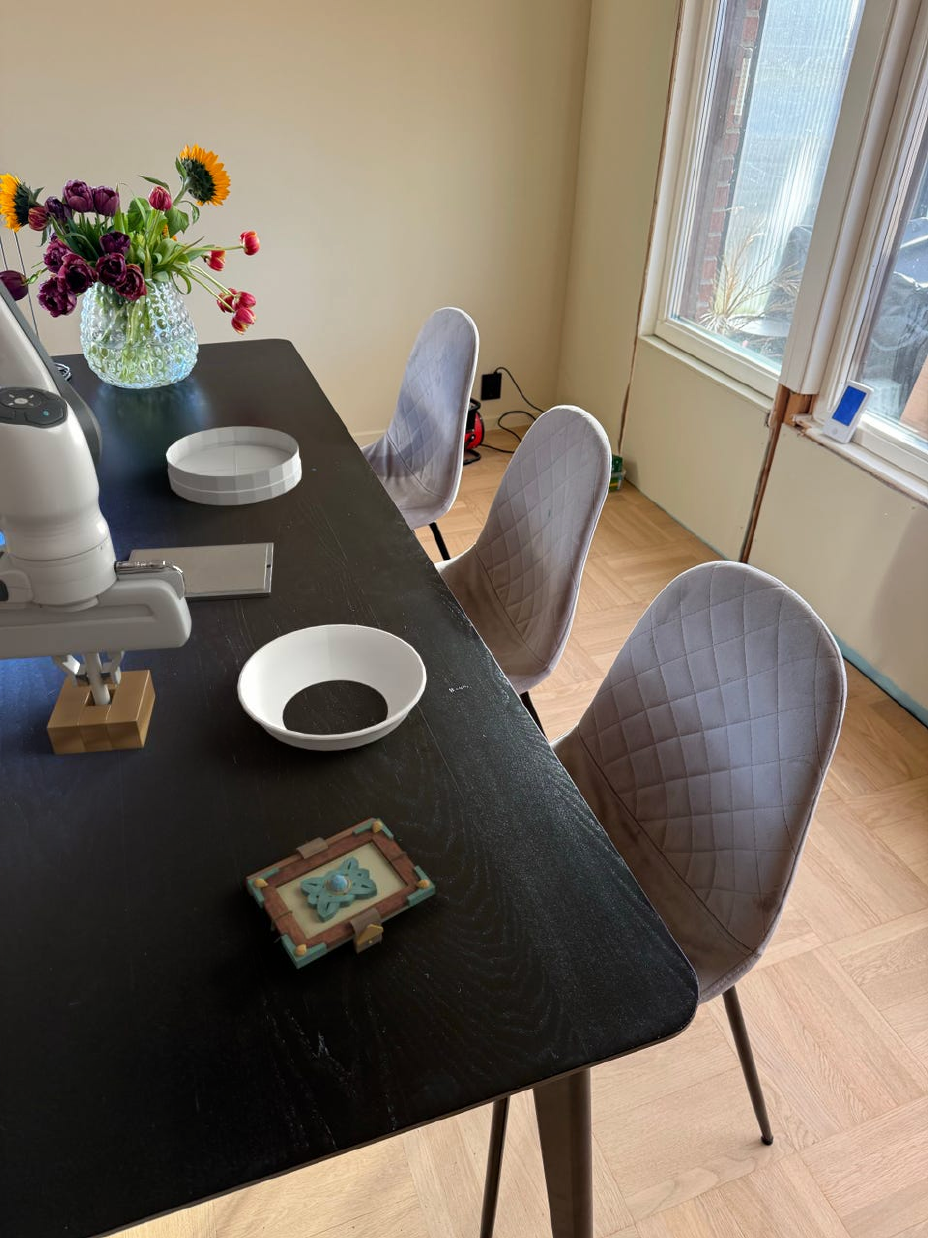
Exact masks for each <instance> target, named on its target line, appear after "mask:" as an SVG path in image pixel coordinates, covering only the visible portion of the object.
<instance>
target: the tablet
mask: <svg viewBox="0 0 928 1238" xmlns="http://www.w3.org/2000/svg"><path fill="white" fill-rule="evenodd" d="M274 548H275V547H274V542H259V543H242V544H224V545H223V544H222V545H220V544H219V545H204V546H203V545H202V546H185V547H182V546H181V547H164V548H163V547H162V548H143V549H132V550H131V552H130V555H129V558H128V561H142V562H143V561H145V562H146V561H150V560H165V562H166V563H169V564H172V565H174V566H176V567H178V568H179V569H180V570H181V571H182V573H183V575H184V580H185V585H186V592H185V595H184V597H185V600H186V603H189V602H190V603H191V602H206V601H222V600H223V601H224V600H236V599H237V600H240V599H256V598H257V599H258V598H259V599H260V598H271V594H272V580H273V566H274V565H273V563H274ZM166 569H167V567H166Z"/></svg>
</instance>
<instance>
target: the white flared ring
mask: <svg viewBox="0 0 928 1238" xmlns="http://www.w3.org/2000/svg"><path fill="white" fill-rule="evenodd" d="M329 681H351V682H357V683H361V684H363V685H367V686H369V687H370V688H372V689H374V690H376V691H377V692H378V693H379V694H380V695H381V696H382V697H383V699H384V700H385V702H386V705H387V715H386V719H385V720H383V721H382V722H380V723H378V724H375V725H373V726H370V727H367V728H363V729H361V730H356V731H351V732H346V733H339V734H309V733H302V732H298V731H293V730H289V729H287V727H286V726H285V723H284V719H283V716H284V710H285V708H286V705H287V704H288V702H289V701H290V700H291V699H292V698H293V697H294V696H295V695H296V694H298V693H299V692H300V691H302V690H304V689H306V688H308V687H310V686H313V685H316V684H319V683H323V682H329ZM426 683H427V672H426V667H425V665H424V662H423V660H422V657H421V656H420V654H419V653H418V652H417V651H416V649H415V648H414V647H413V646H412V645H410V644H409V643H407V642H406V641H404V639H402V638H401V637H398V636H396V635H394V634H392V633H390V632H387V631H385V630H381V629H378V628H376V627H370V626H364V625H357V624H344V623H343V624H341V623H340V624H325V625H323V624H322V625H317V626H316V625H315V626H310V627H306V628H302V629H298V630H295V631H292V632H289V633H287V634H284V635H282V636H279V637H277V638H275V639H273V640H272V641H270V642H268V643H266V644H264V645H263V646H262V647H260V648H259V649H258V650H256V652H254V653H253V654H252V655H251V657H249V659H248V660H246V662H245V664H244V665H243V667H242V669H241V671H240V673H239V676H238V680H237V686H236V689H237V695H238V700H239V702H240V705H241V706H242V708H243V711H245V712H246V714H248V715H249V716H250V717H251V718H252V720H253V721H255V722H257V723H258V724H259V725H261V727H262V728H263V729H264V730H265V731H266V732H267V733H268V734H269V735H271V736H272V737H274V738H275V739H277V740H278V741H280V742H283V743H285V744H287V745H290V746H292V747H296V748H300V749H305V750H309V751H310V750H311V751H323V752H327V751H341V750H347V749H353V748H358V747H361V746H364V745H367V744H370V743H374V742H375V741H377V740H380V739H381V738H383V737H385V736H387V735H388V734H389V733H392V731H394V730H395V729H396V728H397V727H398V726H400V725H401V724H402V722H403V721H404V720H405V719H406V717H407V716H408V714H409V712H410V711H411V710H412V709H413V708H414V707H415V705H416V704H417V703H418V702H419V700H420V699H421V697H422V695H423V693H424V691H425V688H426Z"/></svg>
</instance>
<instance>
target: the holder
mask: <svg viewBox="0 0 928 1238" xmlns="http://www.w3.org/2000/svg"><path fill="white" fill-rule="evenodd" d="M107 688H108V692H109V696H110V700H111V705H100V706H96V704H95V701H94V697H93V694H92V690H91V686H90V685H89V686H87V687H73V685H72V682H71V679H70V675H66V676H65V678H64V682H63V684H62V686H61V689H60V691H59V694H58V696H57V699H56V702H55V704H54V707H53V710H52V713H51V714H50V715H51V716H50V718H49V720H48V723H47V726H46V731H47V734H48V737H49V739H50V743H51V746H52V749H53V752H54V755H55V756H59V755H68V754H69V755H70V754H72V755H73V754H82V753H83V754H85V753H97V752H106V751H107V752H108V751H119V750H131V749H143V748H144V746H145V741H146V738H147V733H148V730H149V729H148V728H149V725H150V722H151V721H150V720H151V716H152V711H153V708H154V703H155V700H156V693H155V689H154V684H153V679H152V675H151V670H149V669H144V670H130V671H129V670H128V671H121V679H120V682H119V684H113V685H107Z"/></svg>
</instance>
